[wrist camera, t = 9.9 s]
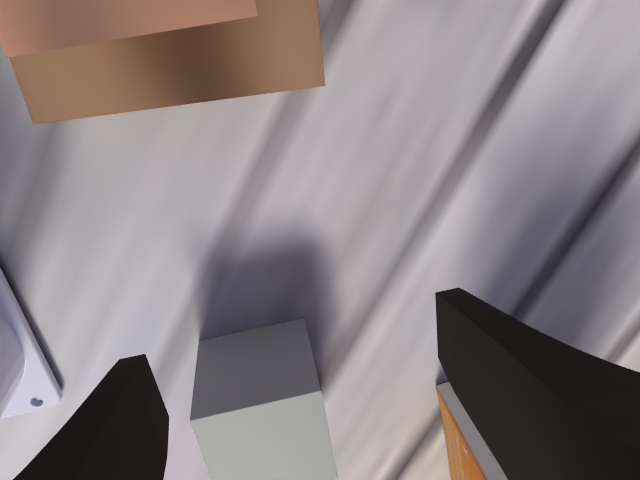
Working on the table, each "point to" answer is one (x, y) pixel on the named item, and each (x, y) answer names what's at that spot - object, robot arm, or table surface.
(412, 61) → the table surface
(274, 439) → the slate grey block
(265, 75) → the tan square block
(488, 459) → the small box
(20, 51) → the terracotta block
